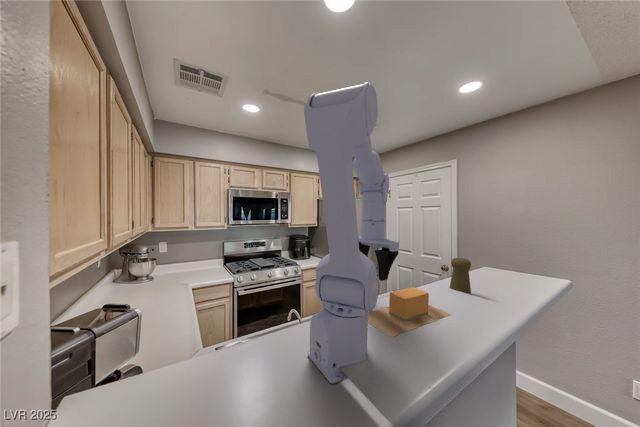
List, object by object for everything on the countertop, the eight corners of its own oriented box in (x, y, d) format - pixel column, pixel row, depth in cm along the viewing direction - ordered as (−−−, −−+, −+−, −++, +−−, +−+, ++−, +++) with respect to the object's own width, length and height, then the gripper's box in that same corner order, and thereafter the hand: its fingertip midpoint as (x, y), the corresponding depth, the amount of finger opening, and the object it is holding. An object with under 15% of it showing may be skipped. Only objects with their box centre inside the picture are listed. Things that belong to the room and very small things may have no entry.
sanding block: (404, 322, 50) (405, 299, 50) (389, 313, 54) (389, 292, 54) (428, 314, 54) (428, 292, 54) (411, 306, 58) (412, 287, 58)
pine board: (390, 345, 44) (391, 337, 44) (357, 321, 53) (357, 315, 53) (451, 320, 54) (451, 314, 54) (414, 304, 63) (415, 299, 63)
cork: (475, 298, 68) (476, 261, 68) (452, 296, 70) (454, 259, 69) (466, 290, 74) (467, 256, 74) (446, 289, 76) (447, 255, 75)
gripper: (408, 222, 53) (407, 281, 53) (365, 218, 65) (364, 266, 66) (386, 222, 49) (384, 286, 49) (345, 219, 62) (344, 269, 62)
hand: (372, 275), depth 57 cm, fingers open, 7 cm apart
